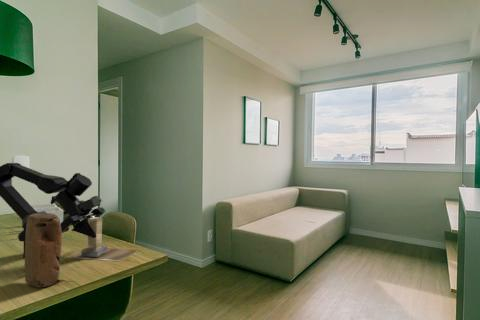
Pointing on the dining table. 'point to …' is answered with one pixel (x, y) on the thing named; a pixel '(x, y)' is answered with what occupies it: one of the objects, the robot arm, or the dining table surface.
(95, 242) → the wooden post with base
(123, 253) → the plank
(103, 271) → the dining table surface
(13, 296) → the dining table surface
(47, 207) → the storage container
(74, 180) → the robot arm
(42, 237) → the block
